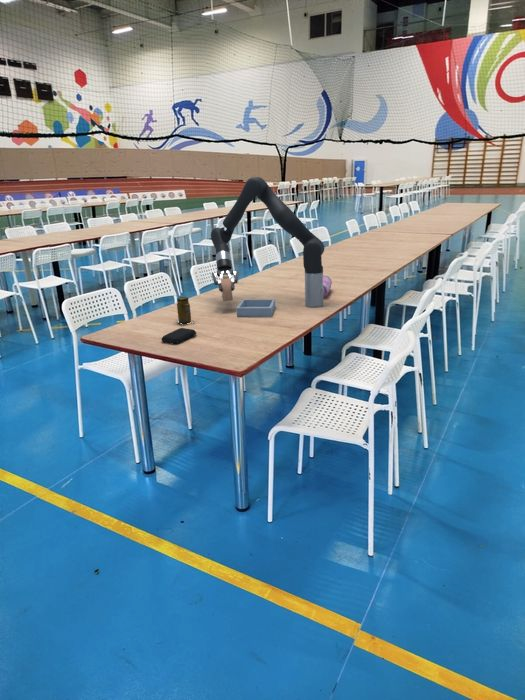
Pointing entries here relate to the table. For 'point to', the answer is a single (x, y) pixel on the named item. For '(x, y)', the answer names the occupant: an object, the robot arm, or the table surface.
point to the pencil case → (326, 285)
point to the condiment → (183, 311)
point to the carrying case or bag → (178, 335)
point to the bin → (256, 308)
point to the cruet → (226, 288)
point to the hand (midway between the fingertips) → (227, 290)
